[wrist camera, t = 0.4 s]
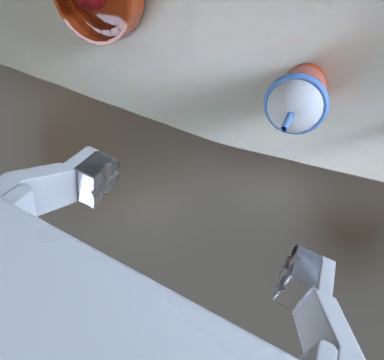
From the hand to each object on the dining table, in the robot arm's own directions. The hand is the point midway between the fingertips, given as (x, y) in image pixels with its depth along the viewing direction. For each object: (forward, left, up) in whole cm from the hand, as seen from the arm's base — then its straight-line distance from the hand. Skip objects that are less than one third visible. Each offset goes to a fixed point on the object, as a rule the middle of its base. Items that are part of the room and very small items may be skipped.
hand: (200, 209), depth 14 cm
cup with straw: (+10, +2, -47) cm, 48 cm away
